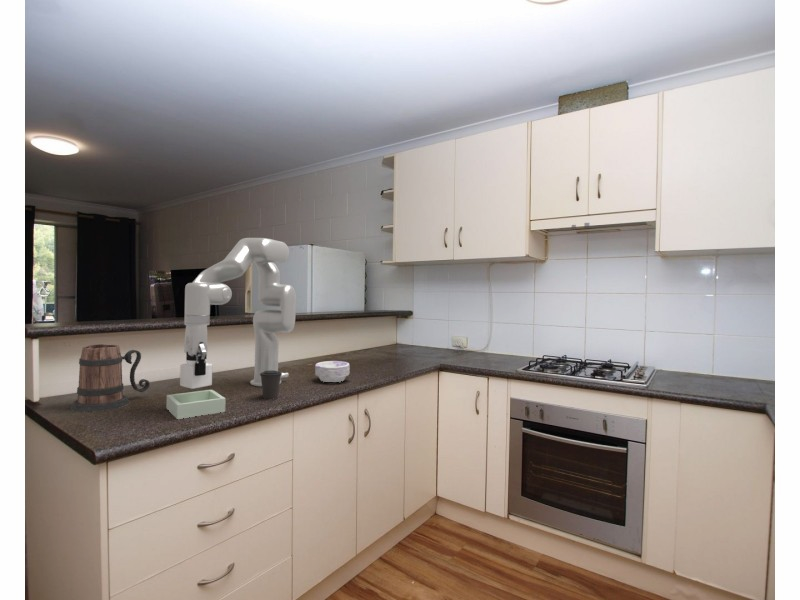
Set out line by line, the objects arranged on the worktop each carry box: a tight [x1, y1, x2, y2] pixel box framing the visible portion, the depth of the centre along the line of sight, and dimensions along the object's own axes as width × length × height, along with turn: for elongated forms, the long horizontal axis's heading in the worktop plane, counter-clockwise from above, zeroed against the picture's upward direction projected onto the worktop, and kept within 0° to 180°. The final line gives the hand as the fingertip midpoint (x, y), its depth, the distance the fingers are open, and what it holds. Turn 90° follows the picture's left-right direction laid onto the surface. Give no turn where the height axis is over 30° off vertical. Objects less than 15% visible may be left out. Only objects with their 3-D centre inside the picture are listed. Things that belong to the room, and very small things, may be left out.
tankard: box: [69, 343, 150, 413], centre depth 147 cm, size 24×17×20 cm
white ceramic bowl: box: [314, 360, 351, 383], centre depth 191 cm, size 15×15×8 cm
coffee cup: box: [260, 370, 283, 400], centre depth 160 cm, size 8×8×10 cm
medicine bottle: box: [179, 352, 213, 390], centre depth 142 cm, size 7×7×12 cm
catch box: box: [166, 389, 227, 420], centre depth 142 cm, size 14×14×4 cm
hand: (196, 372), depth 142 cm, fingers closed on medicine bottle, 8 cm apart
